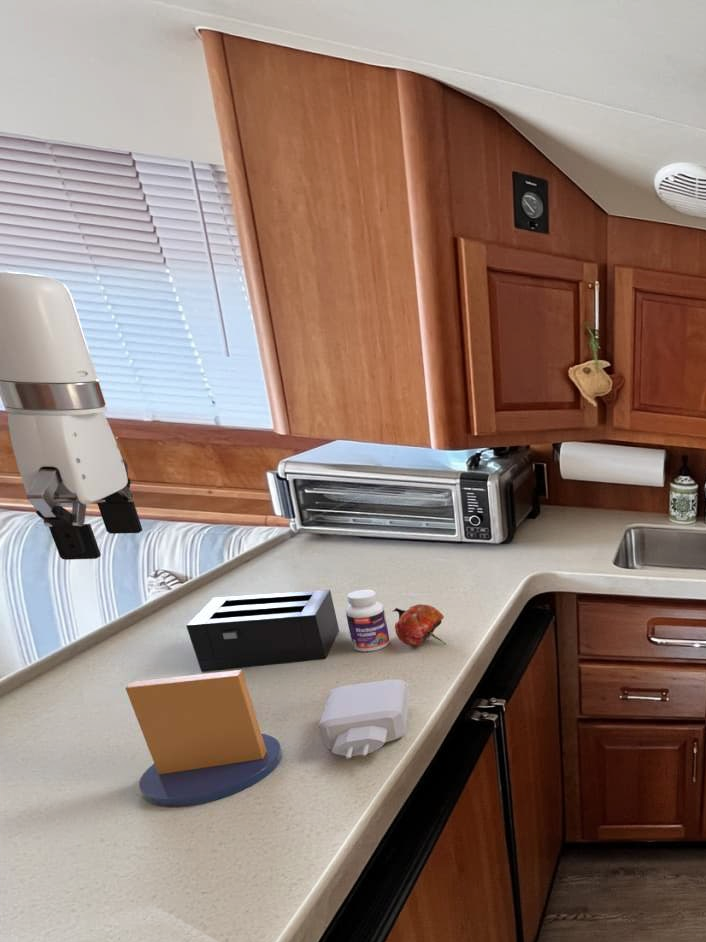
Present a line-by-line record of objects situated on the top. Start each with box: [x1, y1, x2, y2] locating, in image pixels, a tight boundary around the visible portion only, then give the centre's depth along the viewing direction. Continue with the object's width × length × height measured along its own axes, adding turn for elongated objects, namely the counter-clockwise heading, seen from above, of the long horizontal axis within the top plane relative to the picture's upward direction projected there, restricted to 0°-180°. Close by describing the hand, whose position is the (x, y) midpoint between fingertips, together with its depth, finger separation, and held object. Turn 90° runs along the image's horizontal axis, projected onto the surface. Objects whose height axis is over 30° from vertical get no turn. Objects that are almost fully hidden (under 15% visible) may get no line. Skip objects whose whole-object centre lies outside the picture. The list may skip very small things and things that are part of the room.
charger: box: [318, 678, 411, 760], centre depth 85 cm, size 5×9×15 cm
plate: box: [138, 732, 283, 808], centre depth 78 cm, size 13×13×1 cm
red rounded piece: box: [392, 603, 447, 647], centre depth 111 cm, size 7×7×10 cm
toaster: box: [186, 589, 340, 673], centre depth 104 cm, size 16×12×8 cm
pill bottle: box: [345, 589, 390, 653], centre depth 108 cm, size 5×5×10 cm
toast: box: [125, 669, 267, 774], centre depth 76 cm, size 10×2×12 cm, turn 114°
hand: (104, 544), depth 76 cm, fingers open, 9 cm apart
